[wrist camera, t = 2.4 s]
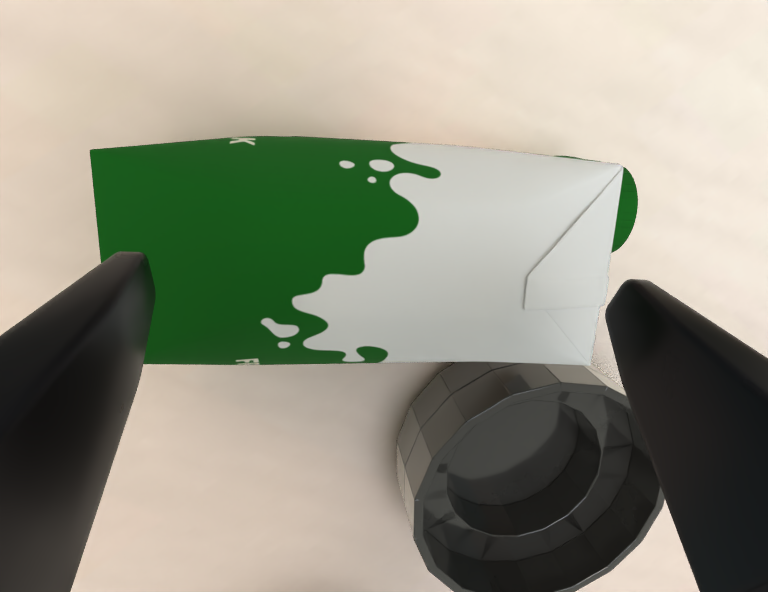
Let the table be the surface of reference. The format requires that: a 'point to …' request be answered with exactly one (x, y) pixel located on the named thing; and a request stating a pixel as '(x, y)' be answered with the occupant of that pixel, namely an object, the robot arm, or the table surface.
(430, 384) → the bowl
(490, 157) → the milk carton
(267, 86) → the table surface
